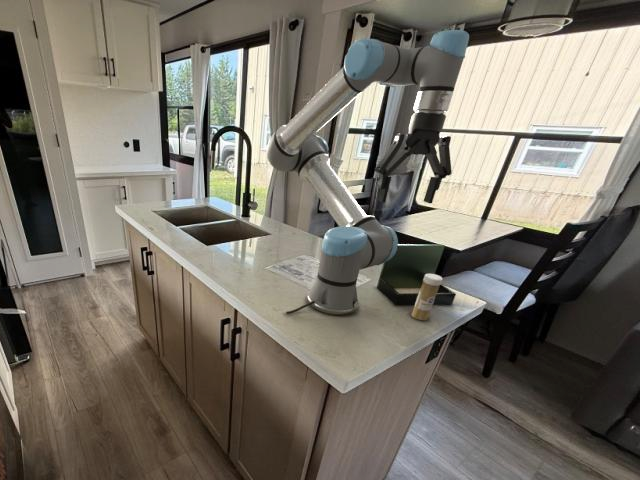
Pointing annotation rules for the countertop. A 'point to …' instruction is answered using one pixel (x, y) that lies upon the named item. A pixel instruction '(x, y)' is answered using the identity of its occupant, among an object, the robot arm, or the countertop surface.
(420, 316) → the sprinkles bottle
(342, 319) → the countertop surface
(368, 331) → the countertop surface
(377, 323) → the countertop surface
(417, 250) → the box
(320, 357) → the countertop surface
